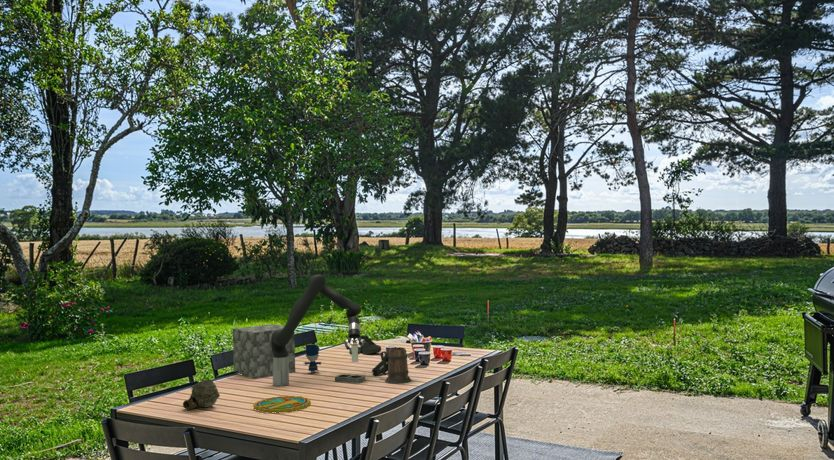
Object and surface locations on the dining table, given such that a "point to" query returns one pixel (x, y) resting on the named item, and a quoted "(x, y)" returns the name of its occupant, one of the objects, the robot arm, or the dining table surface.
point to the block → (258, 351)
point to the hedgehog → (202, 395)
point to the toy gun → (380, 367)
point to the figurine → (312, 357)
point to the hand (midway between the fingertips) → (354, 353)
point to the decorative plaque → (282, 404)
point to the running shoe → (369, 346)
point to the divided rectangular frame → (349, 378)
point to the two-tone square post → (354, 352)
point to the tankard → (395, 366)
